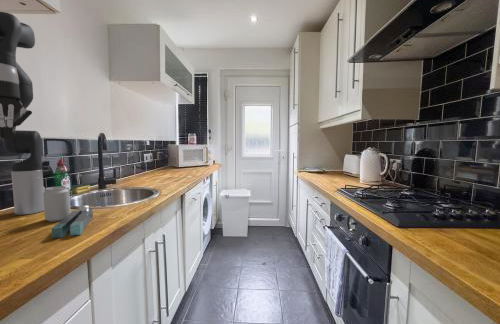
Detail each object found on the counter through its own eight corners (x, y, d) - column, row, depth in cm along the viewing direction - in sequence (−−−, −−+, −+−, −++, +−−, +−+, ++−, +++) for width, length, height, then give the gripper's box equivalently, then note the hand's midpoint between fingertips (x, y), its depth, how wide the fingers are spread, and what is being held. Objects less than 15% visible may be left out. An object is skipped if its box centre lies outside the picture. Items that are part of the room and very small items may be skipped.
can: (73, 215, 93) (71, 184, 93) (67, 220, 87) (65, 188, 86) (49, 217, 91) (47, 186, 90) (41, 223, 84) (38, 189, 83)
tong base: (76, 216, 92) (75, 206, 91) (90, 215, 93) (89, 204, 93) (52, 238, 70) (51, 225, 70) (70, 236, 72) (70, 223, 71)
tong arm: (85, 217, 90) (84, 209, 90) (93, 216, 91) (92, 208, 91) (70, 235, 72) (69, 225, 71) (80, 234, 73) (79, 224, 72)
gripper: (26, 87, 78) (30, 140, 80) (-36, 78, 67) (-30, 140, 69) (34, 84, 74) (38, 140, 75) (-31, 74, 63) (-25, 139, 64)
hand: (6, 140), depth 72 cm, fingers closed
